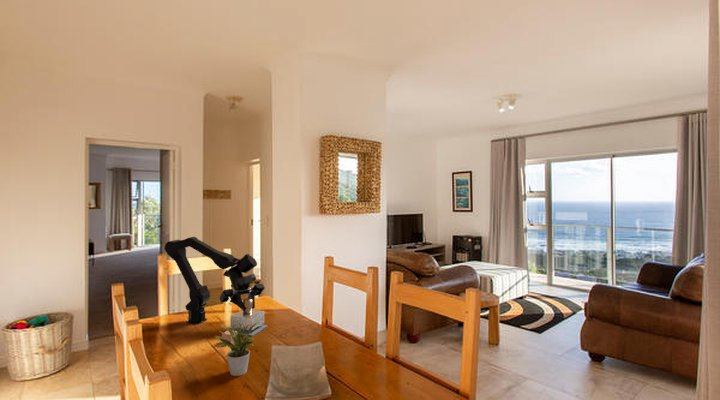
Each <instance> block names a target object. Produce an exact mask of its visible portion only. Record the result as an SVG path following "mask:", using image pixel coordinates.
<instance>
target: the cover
mask: <svg viewBox="0 0 720 400" xmlns="http://www.w3.org/2000/svg"><path fill="white" fill-rule="evenodd" d="M242 302H243V304H244V306H245V311H243V310H242V309H241V310H240V311H237V312H235V313H234V314H231V315H230V327H229V328H230V329H232V328H236V329H237V328H238V322H239V320H240V322H241V329H243V326H244V325H245V328H246V327H247V326H248V325H249V326H248V327H247V328H246V330H249V329H250V327H251V326H252V325H254V324H255V323H257V322H259V323H257V324H256V325H255V326H254V327H253V328H252V330H253V329H255V328H256V327H258V326H260V325H264V323H265V311H264V310H257V309H256V310H255V309H253V299H252V298H248V297H247V298H243V299H242ZM250 324H252V325H250Z"/></svg>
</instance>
